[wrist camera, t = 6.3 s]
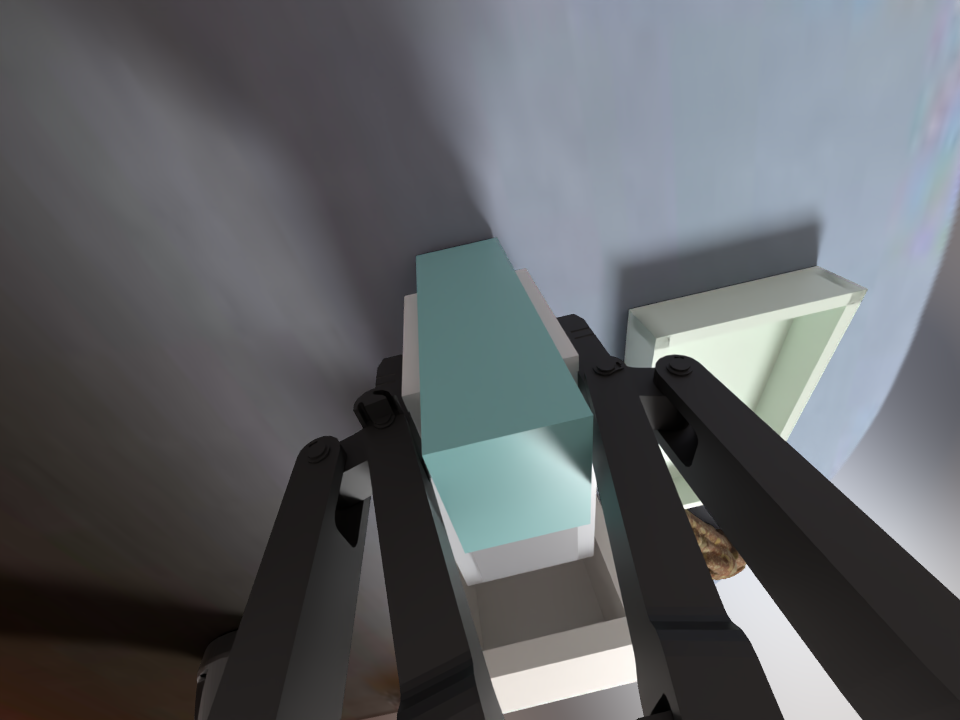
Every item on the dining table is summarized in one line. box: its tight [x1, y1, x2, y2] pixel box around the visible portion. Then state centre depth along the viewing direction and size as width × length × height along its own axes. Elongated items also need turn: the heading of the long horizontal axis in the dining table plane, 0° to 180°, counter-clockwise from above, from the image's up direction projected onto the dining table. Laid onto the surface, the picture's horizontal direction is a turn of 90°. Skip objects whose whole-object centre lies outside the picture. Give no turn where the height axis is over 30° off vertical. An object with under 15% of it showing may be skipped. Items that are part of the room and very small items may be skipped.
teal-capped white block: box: [416, 238, 597, 586], centre depth 18 cm, size 7×15×12 cm, turn 10°
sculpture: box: [685, 509, 746, 580], centre depth 39 cm, size 8×19×5 cm, turn 46°
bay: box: [455, 495, 637, 714], centre depth 27 cm, size 11×9×13 cm
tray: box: [624, 266, 868, 509], centre depth 27 cm, size 12×20×3 cm, turn 10°
